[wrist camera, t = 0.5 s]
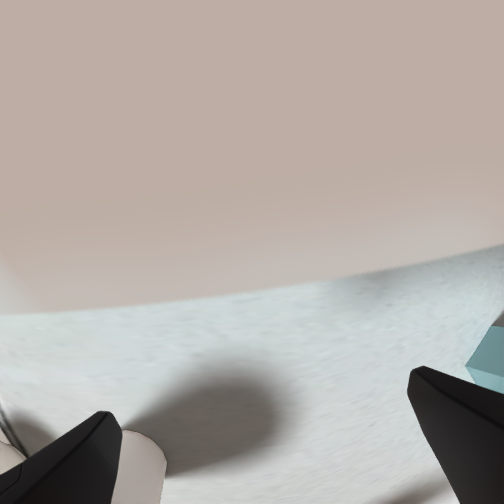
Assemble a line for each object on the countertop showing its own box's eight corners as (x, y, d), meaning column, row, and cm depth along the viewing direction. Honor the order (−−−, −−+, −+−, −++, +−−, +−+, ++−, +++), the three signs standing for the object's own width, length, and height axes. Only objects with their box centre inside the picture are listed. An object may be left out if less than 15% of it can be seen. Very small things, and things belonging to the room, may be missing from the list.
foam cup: (77, 435, 21) (4, 493, 8) (134, 399, 21) (56, 473, 9) (139, 499, 20) (97, 577, 7) (203, 472, 21) (180, 572, 8)
